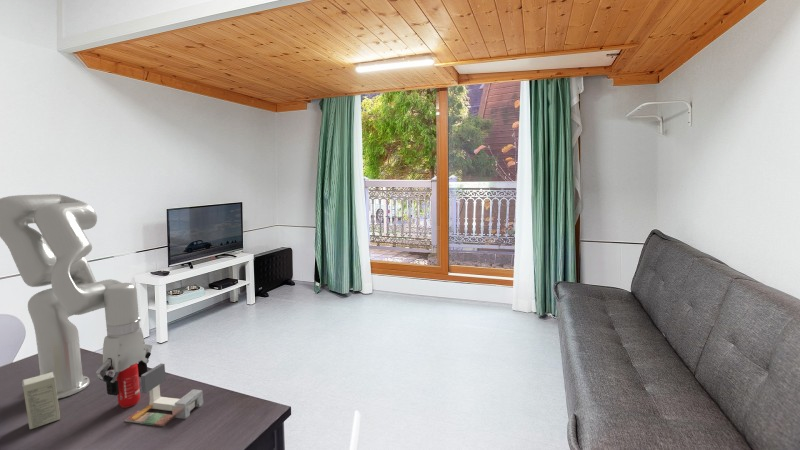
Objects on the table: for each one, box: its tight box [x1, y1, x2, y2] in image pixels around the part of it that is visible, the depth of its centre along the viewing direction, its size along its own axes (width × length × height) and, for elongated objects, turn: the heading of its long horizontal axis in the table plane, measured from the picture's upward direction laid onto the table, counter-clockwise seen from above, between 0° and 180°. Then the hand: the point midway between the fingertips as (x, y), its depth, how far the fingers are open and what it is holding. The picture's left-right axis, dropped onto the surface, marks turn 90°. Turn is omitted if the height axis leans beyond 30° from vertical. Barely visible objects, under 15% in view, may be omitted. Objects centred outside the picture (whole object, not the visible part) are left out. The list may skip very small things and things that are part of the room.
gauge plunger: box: [131, 363, 196, 420], centre depth 108 cm, size 12×11×11 cm
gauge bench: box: [124, 389, 204, 427], centre depth 108 cm, size 15×11×4 cm
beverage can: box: [116, 363, 141, 409], centre depth 112 cm, size 5×5×12 cm
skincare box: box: [22, 372, 61, 430], centre depth 104 cm, size 6×4×12 cm
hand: (128, 385), depth 112 cm, fingers open, 9 cm apart
